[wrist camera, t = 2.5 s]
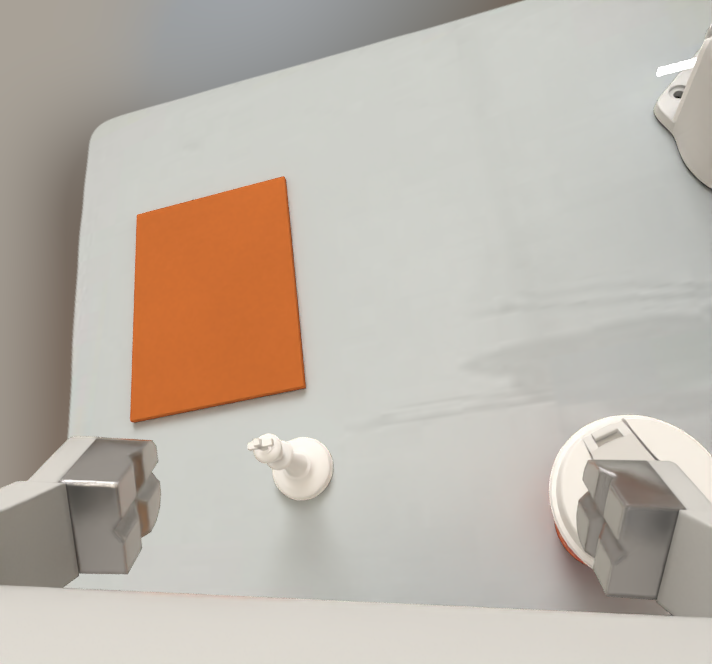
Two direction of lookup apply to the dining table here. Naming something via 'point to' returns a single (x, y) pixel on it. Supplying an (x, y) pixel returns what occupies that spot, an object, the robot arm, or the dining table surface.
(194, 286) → the cloth mat
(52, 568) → the robot arm
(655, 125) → the dining table surface
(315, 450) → the chess piece
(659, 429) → the coffee cup
